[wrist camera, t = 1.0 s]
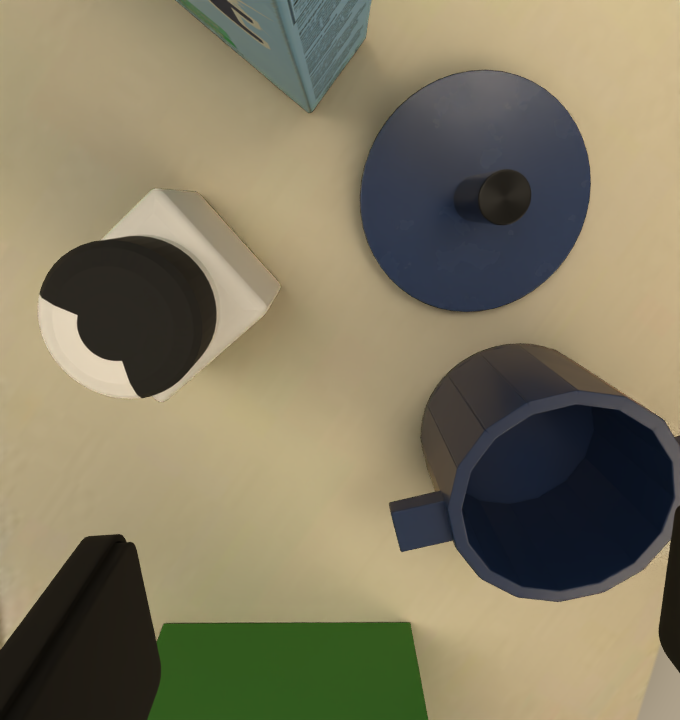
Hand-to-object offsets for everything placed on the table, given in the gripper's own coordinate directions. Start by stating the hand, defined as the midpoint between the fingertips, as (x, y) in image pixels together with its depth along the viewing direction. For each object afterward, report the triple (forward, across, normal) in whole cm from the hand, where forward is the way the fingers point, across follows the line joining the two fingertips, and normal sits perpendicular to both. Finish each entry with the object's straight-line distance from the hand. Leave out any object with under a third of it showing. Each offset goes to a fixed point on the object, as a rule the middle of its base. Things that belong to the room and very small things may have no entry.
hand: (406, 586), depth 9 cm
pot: (+23, -10, +8) cm, 26 cm away
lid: (+22, -7, -6) cm, 24 cm away
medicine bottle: (+23, +9, -3) cm, 25 cm away
